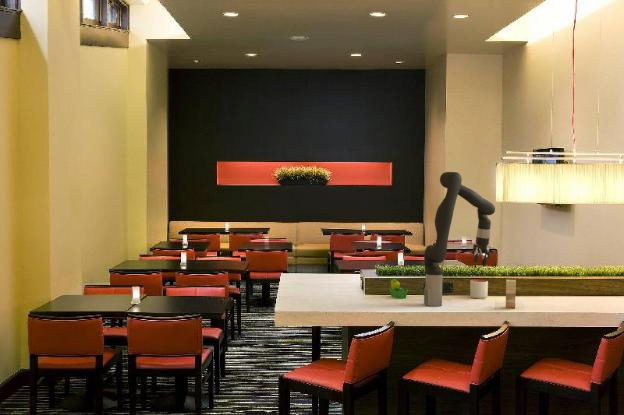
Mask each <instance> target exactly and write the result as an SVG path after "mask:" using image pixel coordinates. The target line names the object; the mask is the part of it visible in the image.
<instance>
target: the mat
mask: <svg viewBox="0 0 624 415" xmlns="http://www.w3.org/2000/svg"><path fill="white" fill-rule="evenodd" d="M494 309H498V310H499V309H500V310H511V309H510V308H506V301H503V300H502V301H501V300H500V301H499V300H494ZM514 310H520V311H526V307H525V303H524V302H522V301H521V302H520V301H515V309H514Z"/></svg>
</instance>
